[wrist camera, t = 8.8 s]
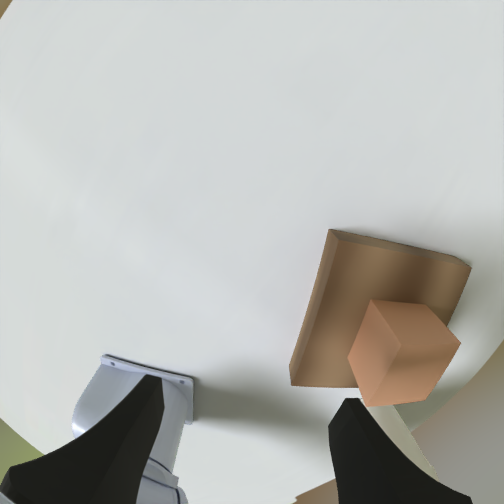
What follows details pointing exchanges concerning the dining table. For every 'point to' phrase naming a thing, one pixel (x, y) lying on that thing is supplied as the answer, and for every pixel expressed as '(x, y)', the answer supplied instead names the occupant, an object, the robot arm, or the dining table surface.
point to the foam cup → (401, 436)
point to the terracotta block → (400, 353)
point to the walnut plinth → (366, 299)
